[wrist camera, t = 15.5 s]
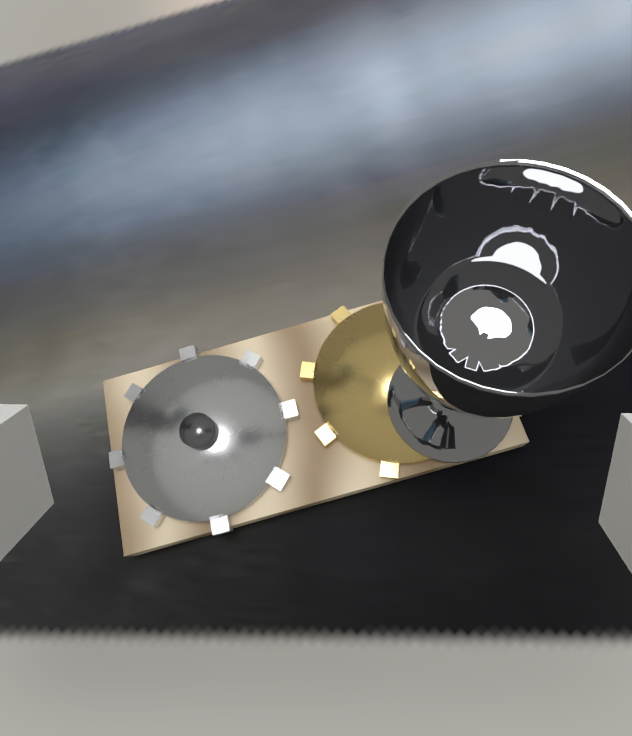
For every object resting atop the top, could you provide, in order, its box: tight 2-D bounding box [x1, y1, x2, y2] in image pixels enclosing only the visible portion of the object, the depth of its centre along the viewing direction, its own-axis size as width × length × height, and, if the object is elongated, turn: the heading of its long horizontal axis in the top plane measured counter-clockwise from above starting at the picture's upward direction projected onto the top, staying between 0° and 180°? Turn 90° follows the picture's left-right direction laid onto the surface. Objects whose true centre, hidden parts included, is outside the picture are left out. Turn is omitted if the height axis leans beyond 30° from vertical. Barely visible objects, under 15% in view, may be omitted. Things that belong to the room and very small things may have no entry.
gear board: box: [103, 301, 529, 556], centre depth 31 cm, size 24×12×4 cm, turn 105°
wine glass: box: [382, 159, 632, 463], centre depth 22 cm, size 8×8×15 cm
